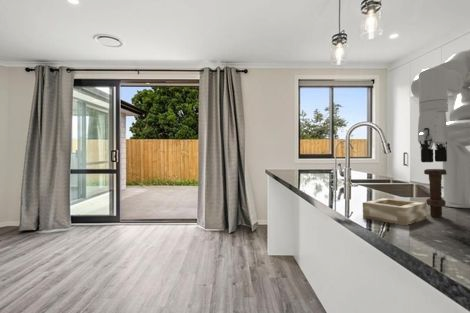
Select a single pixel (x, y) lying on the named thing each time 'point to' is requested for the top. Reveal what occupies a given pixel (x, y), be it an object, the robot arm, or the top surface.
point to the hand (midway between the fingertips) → (434, 161)
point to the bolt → (435, 191)
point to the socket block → (394, 211)
